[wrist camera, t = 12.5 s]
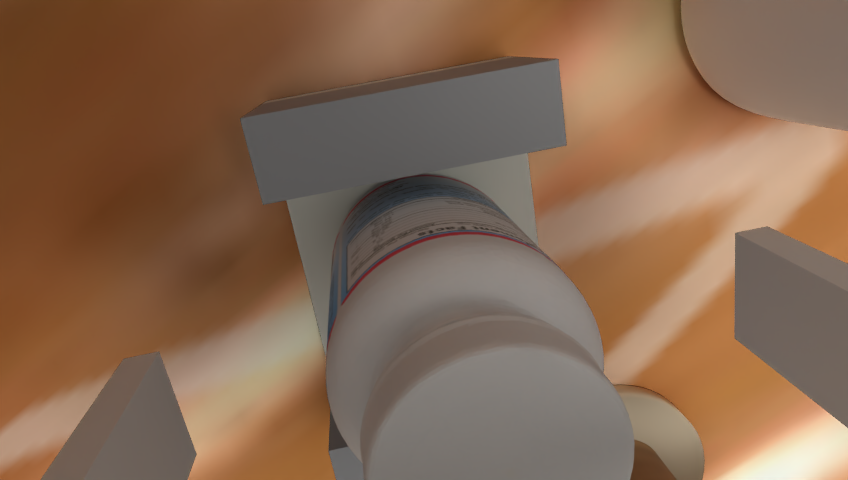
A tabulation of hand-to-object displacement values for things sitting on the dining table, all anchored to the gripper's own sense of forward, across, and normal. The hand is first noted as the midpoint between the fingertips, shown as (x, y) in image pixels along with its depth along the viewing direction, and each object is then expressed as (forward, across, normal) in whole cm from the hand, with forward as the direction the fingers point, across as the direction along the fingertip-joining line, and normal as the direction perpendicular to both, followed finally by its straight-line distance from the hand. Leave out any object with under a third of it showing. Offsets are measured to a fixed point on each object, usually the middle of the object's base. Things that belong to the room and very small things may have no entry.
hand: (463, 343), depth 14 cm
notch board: (+8, 0, -1) cm, 8 cm away
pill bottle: (+7, 0, 0) cm, 7 cm away
